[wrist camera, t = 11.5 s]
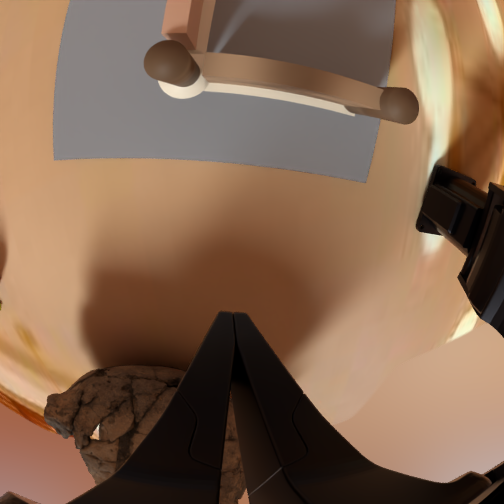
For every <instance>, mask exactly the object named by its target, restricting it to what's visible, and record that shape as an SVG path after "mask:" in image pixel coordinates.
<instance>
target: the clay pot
mask: <svg viewBox="0 0 504 504" xmlns="http://www.w3.org/2000/svg"><path fill="white" fill-rule="evenodd" d="M185 373H186V372H185V371H182V370H179V369H175V368H170V367H162V366H144V365H128V366H116V367H108V368H104V369H96V370H92V371H90V372H88V373H86V374H85V375H83V376H82V377H80V378H79V379H78V380H77V381H76V382H75V383H74V384H73V385H72V386H71V387H70V388H69V389H68V390H67V391H65V392H63V393H61V394H58V393H56V394H51V395H49V396H48V397H47V405H46V407H45V410H44V417H45V421H46V422H47V423H48V424H49V425H51V426H52V427H53V428H55V430H56V432H57V433H58V434H61V435H62V436H63V438H65V439H67V438H68V437H69V435H73V436H74V438H75V445H76V448H77V449H80V454H81V456H82V458H83V460H84V462H85V464H86V466H87V467H88V471H89V472H90V474H91V475H92V476H93V478H94V480H95V483H96V484H97V485H98V484H100V483H101V482H103V481H104V480H106V479H107V478H109V477H110V476H111V475H113V474H114V473H115V472H116V471H117V470H118V469H119V468H120V467H121V466H122V465H123V464H124V463H125V462H126V460H127V459H128V458H129V457H130V456H131V454H132V453H133V452H134V450H135V449H136V448H137V447H138V445H139V444H140V443H141V442H142V440H143V439H144V438H145V437H146V435H147V434H148V433H149V431H150V430H151V429H152V427H153V426H154V425H155V423H156V422H157V420H158V419H159V418H160V416H161V415H162V413H163V411H164V410H165V408H166V406H167V405H168V403H169V401H170V400H171V398H172V396H173V394H174V392H175V391H176V389H177V387H178V385H179V384H180V382H181V380H182V378H183V376H184V374H185ZM99 423H100V424H99ZM98 425H99V440H96V439H94V440H92V439H90V436H92V435H93V431H95V429H96V428H97V426H98ZM221 472H222V474H221V485H220V501H219V504H238V499H241V498H242V495H243V494H244V492H245V490H246V488H247V487H246V482H245V476H244V471H243V465H242V459H241V454H240V448H239V442H238V435H237V429H236V423H235V416H234V410H233V403H232V398H230V399H229V408H228V417H227V426H226V436H225V445H224V454H223V464H222V470H221Z"/></svg>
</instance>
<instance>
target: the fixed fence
mask: <svg viewBox="0 0 504 504" xmlns="http://www.w3.org/2000/svg"><path fill="white" fill-rule="evenodd" d="M144 69H145V71H146V73H147V74H148V75H149V76H150V77H151V78H153V79H155V80H159V81H162V82H165V83H169V84H172V85H175V86H178V87H188V86H191V85H193V84H194V83H195V82H196V81H197V80H198V78H199V76H200V68H199V66H198V64H197V63H196V61H195V60H194V59H193V57H192V56H191V55H190V53H189V52H188V50H187V49H186V48H185V47H184V45H182V44H181V43H180V42H178V41H175V40H163V41H160V42H158V43H156V44H154V45H153V46H152V47H151V48H150V49H149V50H148V51H147V53H146V55H145V57H144ZM202 76H203V77H204V78H205V79H206V81H207V82H208V83H220V84H231V85H240V86H249V87H256V88H263V89H270V90H276V91H282V92H287V93H293V94H298V95H303V96H307V97H312V98H316V99H321V100H325V101H329V102H333V103H337V104H341V105H344V107H345V109H346V110H347V111H349V112H351V113H353V114H359V115H364V116H369V117H374V118H379V119H384V120H388V121H393V122H397V123H401V124H410V123H412V122H413V121H414V120H415V119H416V118H417V116H418V112H419V104H418V100H417V98H416V96H415V95H414V94H413V92H412V91H410V90H409V89H406V88H397V87H375V86H372V85H369V84H366V83H363V82H360V81H357V80H354V79H351V78H348V77H345V76H341V75H338V74H334V73H331V72H327V71H323V70H319V69H315V68H311V67H307V66H303V65H298V64H293V63H288V62H283V61H278V60H272V59H266V58H259V57H252V56H244V55H235V54H225V53H211V52H205V58H204V64H203V71H202Z"/></svg>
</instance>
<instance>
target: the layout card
mask: <svg viewBox="0 0 504 504" xmlns="http://www.w3.org/2000/svg"><path fill="white" fill-rule="evenodd" d="M166 3H167V0H70V3H69V7H68V10H67V14H66V19H65V23H64V28H63V33H62V38H61V43H60V49H59V56H58V63H57V71H56V80H55V92H54V111H53V148H54V160H68V159H92V158H155V159H180V160H198V161H212V162H224V163H235V164H245V165H254V166H263V167H271V168H279V169H286V170H293V171H300V172H307V173H313V174H319V175H325V176H331V177H336V178H342V179H347V180H352V181H357V182H362V183H366V180H367V176H368V173H369V169H370V165H371V160H372V156H373V152H374V148H375V143H376V139H377V134H378V129H379V124H380V119H379V118H374V117H369V116H364V115H359V114H353V113H351V112H349V111H347V110H346V109H345V107H344V105H341V104H337V103H333V102H329V101H325V100H321V99H316V98H312V97H307V96H303V95H298V94H293V93H287V92H282V91H276V90H270V89H263V88H256V87H249V86H240V85H231V84H220V83H208V82H207V81H206V79H205V78H204V77H203V76H202V71H203V64H204V58H205V52H211V53H225V54H235V55H244V56H252V57H259V58H266V59H272V60H278V61H283V62H288V63H293V64H298V65H303V66H307V67H311V68H315V69H319V70H323V71H327V72H331V73H334V74H338V75H341V76H345V77H348V78H351V79H354V80H357V81H360V82H363V83H366V84H369V85H372V86H375V87H386V86H387V80H388V73H389V66H390V58H391V50H392V41H393V31H394V19H395V4H396V0H203V6H202V12H201V18H200V25H199V31H198V38H197V46H196V50H188V52H189V53H190V55H191V56H192V57H193V59H194V60H195V61H196V63H197V64H198V66H199V68H200V76H199V78H198V80H197V81H196V82H195V83H194V84H193V85H191V86H188V87H178V86H175V85H172V84H169V83H165V82H162V81H159V80H155V79H153V78H151V77H150V76H149V75H148V74H147V73H146V71H145V69H144V57H145V55H146V53H147V51H148V50H149V49H150V48H151V47H152V46H153V45H154V44H156V43H158V42H160V41H163V40H167V39H166V38H165V37H164V36H163V35H162V34H161V32H162V26H163V19H164V14H165V8H166Z"/></svg>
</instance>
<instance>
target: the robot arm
mask: <svg viewBox="0 0 504 504" xmlns="http://www.w3.org/2000/svg"><path fill="white" fill-rule="evenodd" d="M438 170H439V172H438ZM488 188H489V191H488V193H486V192H484V191H482V190H481V189H479V188H477V187H476V181H475V180H474V179H472V178H470V177H467V176H465V175H463V174H460V173H458V172H456V171H453V170H451V169H448V168H446V167H444V166H441V165H436V166H435V167H434V170H433V174H432V177H431V181H430V184H429V187H428V191H427V194H426V197H425V200H424V203H423V206H422V209H421V212H420V215H419V218H418V221H417V224H416V229H417V230H418V231H419V232H424V233H430V234H436V235H442V236H444V237H445V238H446V239H448V240H449V241H450V242H451V243H452V244H453V245H454V246H456V247H457V248H458V249H459V250H460V251H461V252H462V253H463V254H465V255H466V256H467V258H466V261H465V263H464V266H463V268H462V270H461V272H460V273H459V275H458V277H457V278H458V280H459V282H460V283H461V285H462V287H463V289H464V291H465V293H466V295H467V297H468V299H469V301H470V303H471V305H472V307H473V309H474V310H475V312H476V314H477V315H478V316H479V317H480V319H482V320H484V321H485V322H487V323H489V324H490V325H491V326H493V327H494V328H495V329H496V330H497V331H498V332H499V333H500V334H501V335H502V336H503V338H504V186H502V185H499V184H496V183H492V182H490V183H489V187H488ZM421 225H422V226H421ZM420 226H421V227H420ZM230 390H231V396H232V403H233V410H234V416H235V423H236V429H237V435H238V442H239V448H240V454H241V459H242V465H243V471H244V476H245V482H246V487H247V493H248V496H249V497H248V498H249V503H250V504H504V461H503V462H501V463H500V464H498V465H497V466H495V467H494V468H492V469H490V470H489V471H487V472H486V473H484V474H479V473H476V472H472V471H470V472H467V473H465V474H463V475H461V476H459V477H458V478H456V479H454V480H452V481H450V482H448V483H439V482H433V481H429V480H424V479H421V478H417V477H413V476H409V475H406V474H402V473H399V472H396V471H392V470H389V469H386V468H383V467H380V466H378V465H376V464H374V463H373V462H371V461H369V460H368V459H367V458H365V457H364V456H363V455H361V453H360V452H359V451H358V450H356V449H355V448H354V447H353V446H352V445H351V444H350V443H349V442H348V441H347V440H346V439H345V438H344V437H343V436H342V435H341V434H340V433H339V432H337V430H335V428H334V427H333V426H332V425H331V424H330V423H329V422H328V421H327V420H326V419H325V418H324V417H323V416H322V415H321V413H320V412H319V411H318V410H317V408H316V407H315V406H314V405H313V404H312V402H311V401H310V400H309V398H308V397H307V396H306V394H303V390H302V389H301V388H300V386H299V385H298V384H297V382H296V381H295V380H294V378H293V377H292V376H291V374H290V373H289V372H288V370H287V369H286V368H285V366H284V365H283V364H282V362H281V361H280V359H279V358H278V357H277V355H276V354H275V353H274V351H273V350H272V348H271V347H270V346H269V344H268V343H267V341H266V340H265V339H264V337H263V336H262V334H261V333H260V332H259V330H258V329H257V327H256V326H255V324H254V323H253V322H252V320H251V319H250V317H249V316H248V315H247V314H246V313H241V312H234V313H233V314H232V312H227V311H220V312H219V313H218V314H217V316H216V318H215V320H214V321H213V323H212V325H211V327H210V329H209V331H208V332H207V334H206V336H205V338H204V340H203V342H202V343H201V345H200V347H199V349H198V351H197V353H196V354H195V356H194V358H193V360H192V362H191V363H190V365H189V367H188V369H187V371H186V373H185V374H184V376H183V378H182V380H181V382H180V384H179V385H178V387H177V389H176V391H175V392H174V394H173V396H172V398H171V400H170V401H169V403H168V405H167V406H166V408H165V410H164V411H163V413H162V415H161V416H160V418H159V419H158V420H157V422H156V423H155V425H154V426H153V427H152V429H151V430H150V431H149V433H148V434H147V435H146V437H145V438H144V439H143V440H142V442H141V443H140V444H139V445H138V447H137V448H136V449H135V450H134V452H133V453H132V454H131V456H130V457H129V458H128V459H127V460H126V462H125V463H124V464H123V465H122V466H121V467H120V468H119V469H118V470H117V471H116V472H115V473H114V474H113V475H111V476H110V477H109V478H107V479H106V480H104V481H103V482H101V483H100V484H98V485H96V486H95V487H94V488H92V489H90V490H88V491H87V492H85V493H84V494H82V495H80V496H79V497H77V498H75V499H73V500H72V501H70V502H68V503H66V504H219V501H220V485H221V474H222V472H221V470H222V464H223V454H224V445H225V436H226V426H227V417H228V408H229V399H230ZM0 504H40V503H37V502H35V501H32V500H30V499H27V498H25V497H23V496H20V495H18V494H15V493H13V492H6V493H5V494H4V495H3V496H2V497H0Z"/></svg>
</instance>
